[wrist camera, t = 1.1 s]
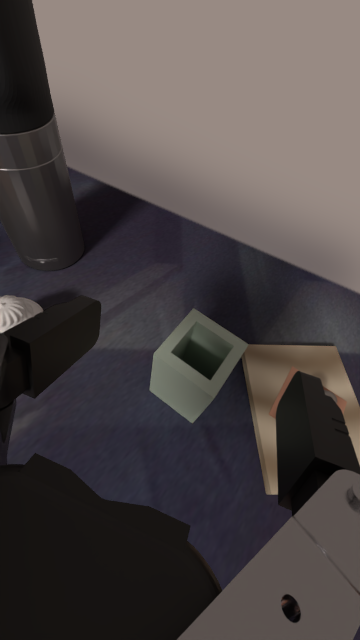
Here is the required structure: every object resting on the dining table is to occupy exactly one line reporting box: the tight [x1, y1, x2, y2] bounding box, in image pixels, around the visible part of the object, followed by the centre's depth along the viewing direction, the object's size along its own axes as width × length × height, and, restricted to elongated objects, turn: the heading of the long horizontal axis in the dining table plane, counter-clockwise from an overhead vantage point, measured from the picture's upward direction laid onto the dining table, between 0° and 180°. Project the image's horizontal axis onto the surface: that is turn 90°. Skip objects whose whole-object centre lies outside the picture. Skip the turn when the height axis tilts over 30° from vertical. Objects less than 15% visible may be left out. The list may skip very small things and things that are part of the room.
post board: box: [241, 344, 360, 494], centre depth 29 cm, size 16×13×6 cm
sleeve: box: [150, 308, 249, 424], centre depth 27 cm, size 6×6×10 cm
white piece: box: [0, 295, 43, 333], centre depth 29 cm, size 6×6×7 cm
